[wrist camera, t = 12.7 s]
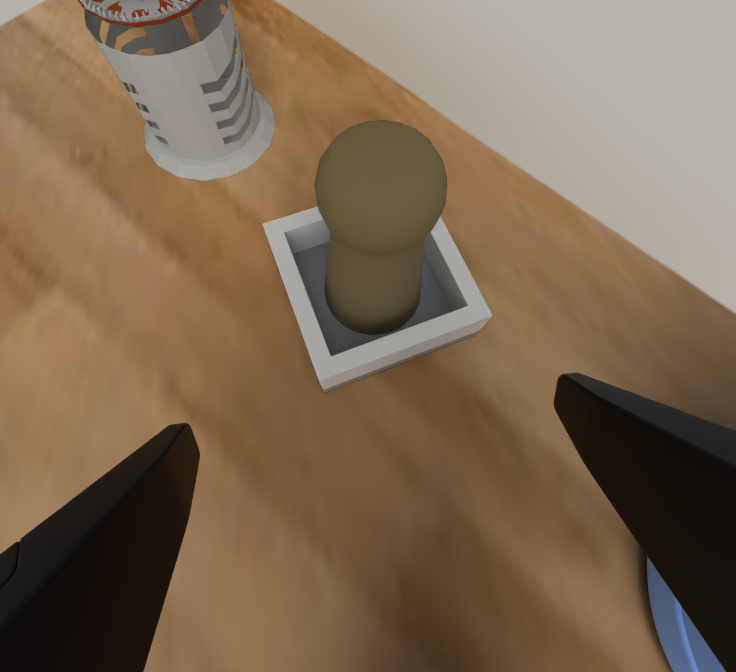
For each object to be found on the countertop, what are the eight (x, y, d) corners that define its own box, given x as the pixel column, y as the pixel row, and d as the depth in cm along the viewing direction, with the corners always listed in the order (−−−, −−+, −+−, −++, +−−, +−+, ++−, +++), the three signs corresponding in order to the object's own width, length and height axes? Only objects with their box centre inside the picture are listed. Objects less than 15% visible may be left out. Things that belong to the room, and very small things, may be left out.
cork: (384, 354, 23) (404, 262, 13) (304, 298, 24) (262, 169, 14) (439, 280, 25) (499, 144, 14) (362, 230, 26) (365, 69, 15)
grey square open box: (474, 335, 25) (492, 315, 21) (324, 393, 23) (319, 381, 20) (411, 210, 27) (418, 174, 24) (274, 254, 26) (262, 223, 23)
